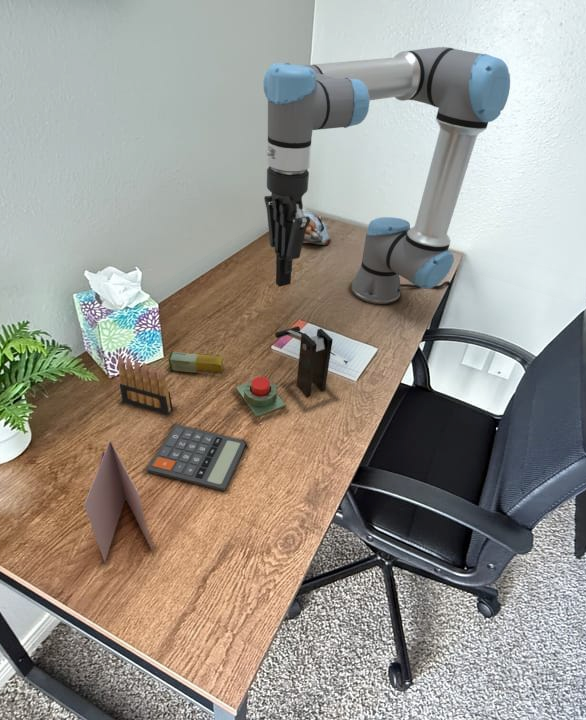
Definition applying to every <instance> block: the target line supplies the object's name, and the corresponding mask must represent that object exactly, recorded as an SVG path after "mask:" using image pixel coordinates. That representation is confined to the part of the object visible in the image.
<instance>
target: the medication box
mask: <svg viewBox="0 0 586 720" xmlns="http://www.w3.org/2000/svg"><path fill="white" fill-rule="evenodd" d="M168 363H169V368H170V371H175V372H185V373H193V374H194V373H195V374H200V372H199V371H203V372H211V373H219V374H221V373H222V372H223V370H224V360H223V356H217V355H206V354H196V353H189V352H187V353H186V352H180V351H179V352H178V351H170V353H169V355H168Z"/></svg>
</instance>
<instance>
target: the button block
mask: <svg viewBox="0 0 586 720" xmlns="http://www.w3.org/2000/svg"><path fill="white" fill-rule="evenodd" d="M252 380H253V379H250V380H249V381H247V382H246V383H243V384H240V385H237V386H235V391H236V392H237V393H238V395H239V396H240V397H241V399H242V400H243V402H244V403H245V404H246V405H247V407H248V408H249V410H250V411H251V413H253V416H255V418H260V417H263V416H265V415H269V414H271V413H274V412H277V411H279V410H282V409H284V408H286V407H287V404H286V402H285V401H284V400H283V399H282V398H281V397H280V396H279V394H278V393H277V392H278V388H277V385H276V384H275V383H274V381H272V380H270V379H268V380H269V381H270V392H269V394H267V395H265V396H256V395H254V394H253V393H252V392H251V382H252Z"/></svg>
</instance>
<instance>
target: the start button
mask: <svg viewBox="0 0 586 720" xmlns="http://www.w3.org/2000/svg"><path fill="white" fill-rule="evenodd" d="M251 380H252V382H251V392H252V393H253V394H254V395H256V396H265V395H267V394H269V392H270V381H271V380H270V379H269V378H267V377H265V376H264V377H263V376H258V377H255V378H253V379H251ZM269 380H270V381H269Z"/></svg>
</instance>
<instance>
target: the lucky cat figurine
mask: <svg viewBox="0 0 586 720" xmlns="http://www.w3.org/2000/svg"><path fill="white" fill-rule="evenodd" d="M302 212H303V214H304V216H305V217H307V216H308V217H309V218H310V223H309V225H308V226H307V228H306V232H305V236H304V240H303V244H314V245H322V246H327V245H328V243H329V242H330V240H332V237H331V235H330V233H329V232H328V228H327V225H326V223H324V221H323V218H322V216H321V215H319V216H316V215H315V214H314V213H313V212H312V211H309V210H304V211H303V210H302Z"/></svg>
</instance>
